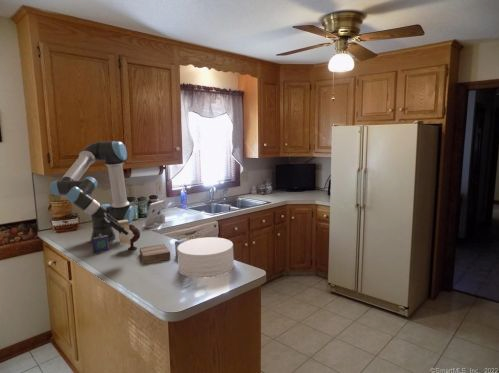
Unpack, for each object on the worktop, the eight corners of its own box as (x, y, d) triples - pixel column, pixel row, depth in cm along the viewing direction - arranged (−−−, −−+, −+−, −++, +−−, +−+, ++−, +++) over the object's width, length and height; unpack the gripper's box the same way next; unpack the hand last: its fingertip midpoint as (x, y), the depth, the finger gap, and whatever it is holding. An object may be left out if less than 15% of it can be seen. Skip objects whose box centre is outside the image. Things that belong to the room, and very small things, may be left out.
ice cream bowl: (118, 251, 203) (116, 226, 200) (131, 245, 213) (129, 222, 211) (133, 253, 199) (131, 228, 197) (145, 247, 209) (143, 223, 207)
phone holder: (156, 221, 273) (155, 199, 270) (166, 222, 268) (165, 199, 266) (141, 226, 257) (139, 203, 254) (151, 228, 253) (150, 204, 250)
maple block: (119, 242, 185) (117, 220, 183) (129, 240, 188) (127, 219, 186) (120, 244, 181) (118, 223, 179) (130, 243, 183) (128, 221, 181)
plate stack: (239, 258, 186) (239, 238, 184) (224, 280, 159) (223, 256, 157) (191, 256, 192) (190, 236, 191) (169, 276, 165) (167, 253, 164)
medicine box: (186, 252, 198) (185, 237, 197) (191, 253, 196) (190, 239, 194) (175, 256, 192) (174, 241, 191) (180, 257, 189) (179, 242, 188)
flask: (107, 248, 208) (106, 231, 206) (110, 249, 206) (108, 232, 204) (92, 253, 201) (90, 235, 199) (94, 254, 199) (93, 236, 198)
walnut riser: (140, 254, 196) (139, 247, 196) (164, 250, 202) (164, 243, 202) (144, 263, 182) (143, 256, 182) (170, 258, 188) (170, 251, 187)
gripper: (90, 212, 183) (125, 236, 193) (90, 219, 167) (128, 246, 177) (100, 201, 185) (134, 226, 194) (101, 207, 168) (138, 234, 178)
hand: (131, 235), depth 185 cm, fingers closed on maple block, 5 cm apart
